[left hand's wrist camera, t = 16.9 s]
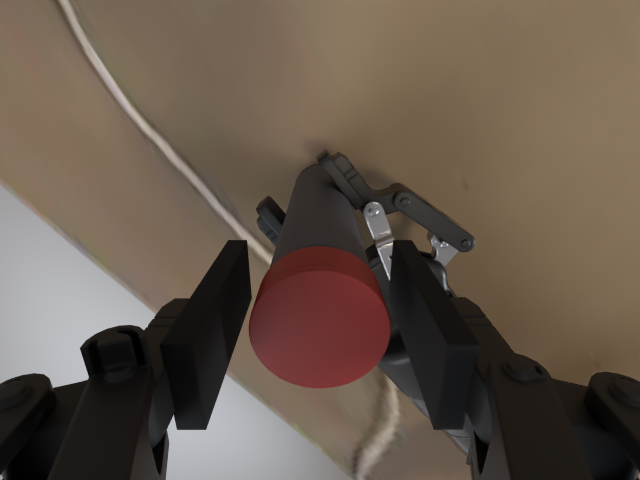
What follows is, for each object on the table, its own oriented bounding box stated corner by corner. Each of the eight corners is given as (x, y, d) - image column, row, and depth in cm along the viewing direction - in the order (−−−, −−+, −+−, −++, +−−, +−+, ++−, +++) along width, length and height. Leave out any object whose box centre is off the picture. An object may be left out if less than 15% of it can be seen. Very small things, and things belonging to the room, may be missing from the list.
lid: (371, 355, 13) (379, 393, 11) (257, 346, 13) (247, 384, 11) (390, 250, 12) (402, 276, 10) (260, 239, 11) (249, 264, 10)
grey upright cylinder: (284, 185, 28) (229, 312, 11) (324, 153, 27) (331, 239, 10) (315, 223, 29) (310, 390, 12) (355, 194, 28) (407, 331, 11)
